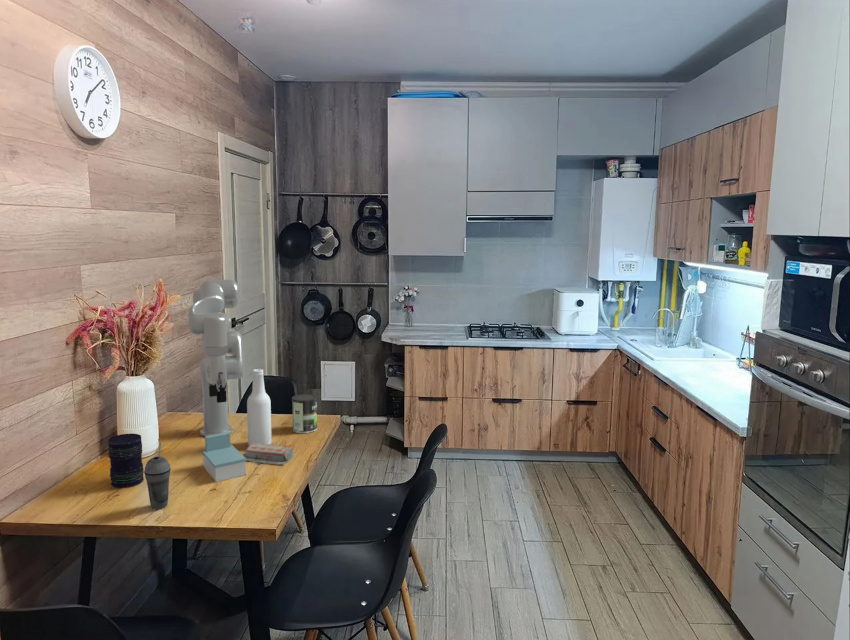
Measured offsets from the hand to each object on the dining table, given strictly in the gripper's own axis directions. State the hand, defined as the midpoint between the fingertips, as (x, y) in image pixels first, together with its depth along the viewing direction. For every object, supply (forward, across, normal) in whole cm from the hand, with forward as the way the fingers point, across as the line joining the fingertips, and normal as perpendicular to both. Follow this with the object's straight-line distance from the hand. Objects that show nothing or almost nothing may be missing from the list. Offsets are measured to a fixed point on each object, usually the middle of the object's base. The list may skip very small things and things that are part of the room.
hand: (217, 399), depth 204 cm
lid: (+19, +6, 0) cm, 20 cm away
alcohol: (+24, -12, +18) cm, 32 cm away
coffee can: (+23, -19, +40) cm, 50 cm away
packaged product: (+25, +2, +16) cm, 30 cm away
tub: (+24, +6, 0) cm, 25 cm away
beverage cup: (+25, +22, -24) cm, 41 cm away
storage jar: (+24, -2, -30) cm, 38 cm away
